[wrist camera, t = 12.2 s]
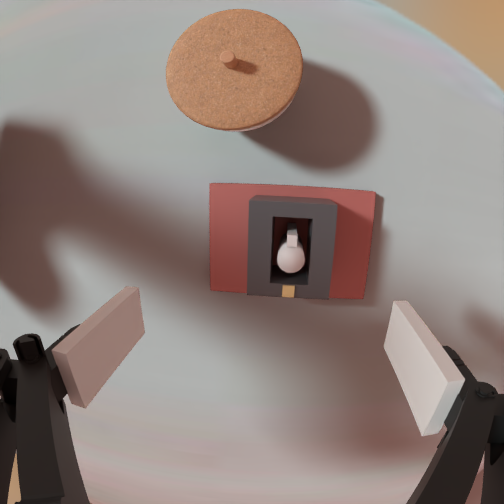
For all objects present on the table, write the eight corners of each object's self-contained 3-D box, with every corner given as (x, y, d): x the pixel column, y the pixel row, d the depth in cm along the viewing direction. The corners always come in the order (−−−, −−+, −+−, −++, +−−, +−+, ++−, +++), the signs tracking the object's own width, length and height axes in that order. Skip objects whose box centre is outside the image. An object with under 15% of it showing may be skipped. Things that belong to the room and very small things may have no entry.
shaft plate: (213, 286, 33) (195, 313, 27) (212, 183, 30) (192, 187, 24) (360, 294, 32) (375, 324, 25) (372, 191, 29) (394, 198, 22)
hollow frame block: (255, 194, 29) (248, 200, 24) (329, 198, 28) (338, 205, 23) (253, 274, 31) (246, 295, 26) (322, 279, 30) (328, 300, 25)
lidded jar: (311, 126, 28) (321, 108, 19) (205, 150, 30) (171, 144, 21) (284, 32, 25) (282, -14, 16) (184, 58, 27) (148, 25, 18)
